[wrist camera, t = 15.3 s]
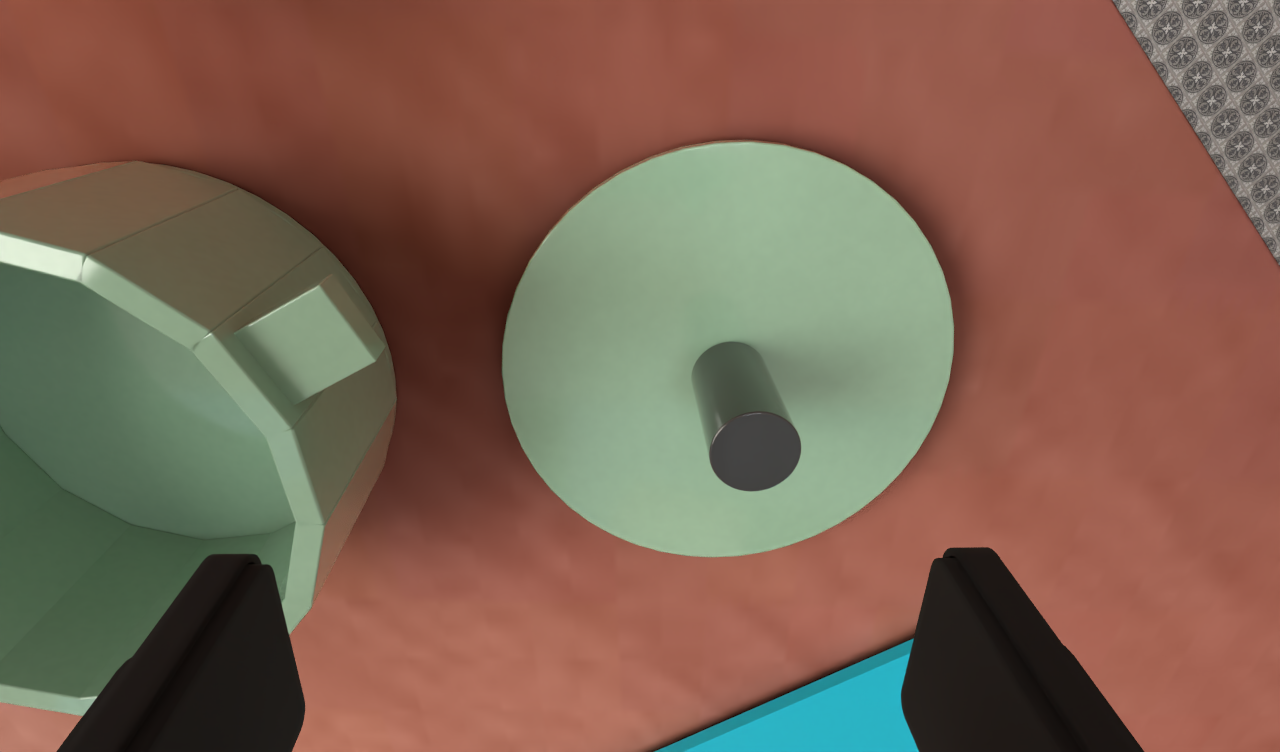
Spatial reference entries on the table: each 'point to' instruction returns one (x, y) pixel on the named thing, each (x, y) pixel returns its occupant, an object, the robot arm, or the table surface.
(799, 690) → the floppy disk
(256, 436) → the pot
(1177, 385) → the table surface
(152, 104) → the table surface
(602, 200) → the pot lid
